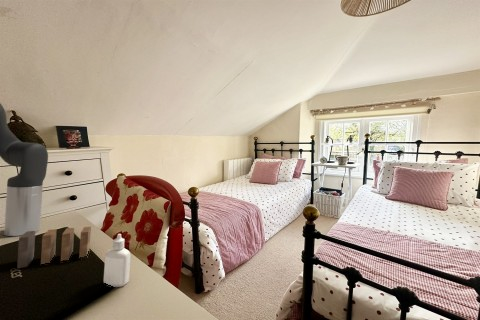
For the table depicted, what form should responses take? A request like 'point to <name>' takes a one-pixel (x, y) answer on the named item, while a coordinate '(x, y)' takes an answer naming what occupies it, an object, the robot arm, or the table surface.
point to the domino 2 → (67, 244)
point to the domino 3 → (85, 241)
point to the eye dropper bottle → (117, 264)
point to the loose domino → (26, 249)
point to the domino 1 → (48, 246)
